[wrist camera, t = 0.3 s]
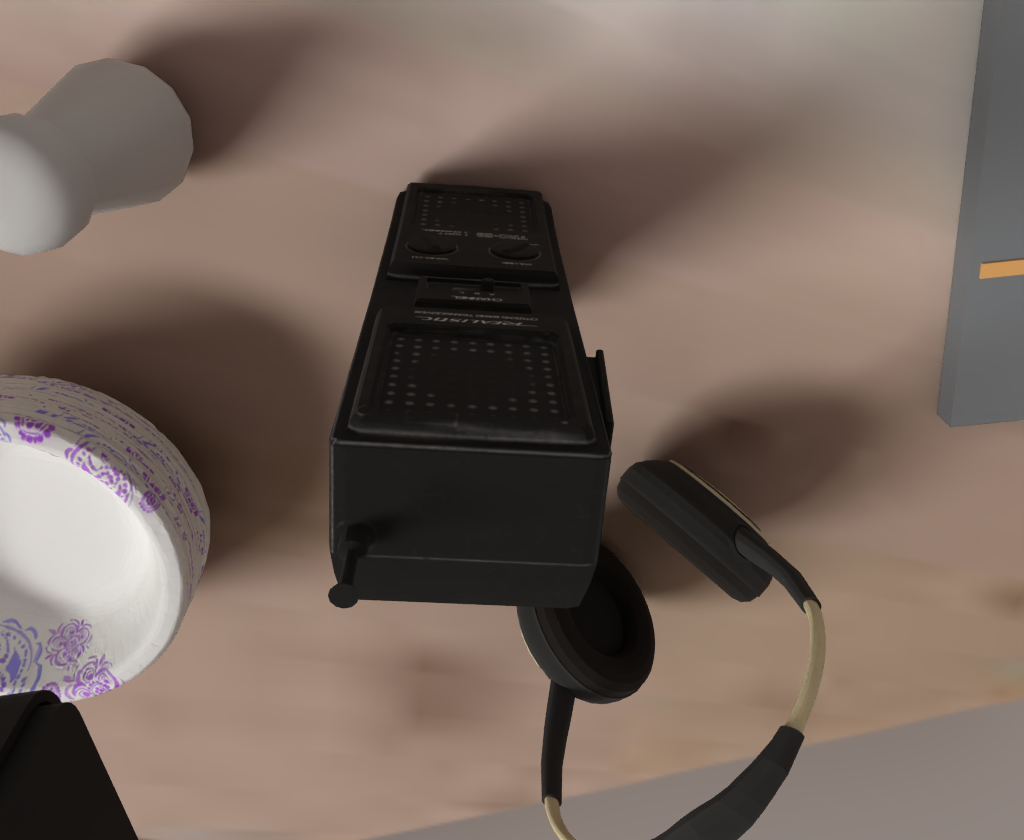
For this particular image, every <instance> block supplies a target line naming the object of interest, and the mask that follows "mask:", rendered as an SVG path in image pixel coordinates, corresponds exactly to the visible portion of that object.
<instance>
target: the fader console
mask: <svg viewBox="0 0 1024 840" xmlns="http://www.w3.org/2000/svg"><path fill="white" fill-rule="evenodd" d="M937 414H938V415H939V416H940V418H941V419H942V420H943V421H944V422H945V423H946V424H947V425H948V426H949V427H959V426H969V425H979V424H988V423H998V422H1008V421H1018V420H1024V0H984V6H983V15H982V24H981V33H980V41H979V50H978V59H977V68H976V77H975V85H974V94H973V103H972V112H971V120H970V129H969V138H968V147H967V156H966V164H965V173H964V182H963V191H962V200H961V208H960V217H959V226H958V235H957V243H956V252H955V261H954V270H953V279H952V287H951V296H950V305H949V314H948V323H947V331H946V340H945V349H944V358H943V366H942V375H941V384H940V393H939V402H938V410H937Z"/></svg>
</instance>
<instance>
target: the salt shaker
mask: <svg viewBox="0 0 1024 840" xmlns="http://www.w3.org/2000/svg"><path fill="white" fill-rule="evenodd" d="M193 150H194V147H193V138H192V128H191V119H190V117H189V115H188V113H187V112H186V110H185V108H184V107H183V105H182V103H181V102H180V100H179V98H178V97H177V95H176V93H175V92H174V90H173V88H172V87H170V86H169V85H168V84H166V83H165V82H164V81H163V80H161V79H160V78H159V77H157V76H156V75H155V74H153V73H152V72H151V71H150V70H148V69H147V68H146V67H143V66H139V65H135V64H131V63H127V62H123V61H119V60H115V59H109V58H106V59H102V60H97V61H93V62H88V63H84V64H79V65H75V66H74V67H73V68H72V69H71V70H70V71H69V72H68V73H67V74H66V75H65V76H64V77H63V78H62V79H61V80H60V81H58V82H57V83H56V84H55V85H54V86H53V87H52V88H51V89H50V91H49V92H48V93H47V94H46V95H45V96H44V97H43V98H42V99H41V100H40V101H39V102H38V103H37V104H36V105H35V106H34V107H33V108H32V109H31V110H30V111H29V112H28V113H27V114H26V115H21V114H17V113H13V114H8V115H4V116H0V250H2V251H7V252H11V253H15V254H20V255H24V256H26V255H30V254H35V253H39V252H44V251H48V250H52V249H56V248H60V247H63V246H64V245H65V244H66V243H67V242H68V241H70V240H71V239H72V238H73V237H74V236H76V235H77V234H78V233H79V232H80V231H81V230H83V229H84V228H85V227H86V226H87V224H88V223H89V221H90V218H91V215H94V214H99V213H105V212H110V211H115V210H121V209H126V208H131V207H135V206H139V205H144V204H148V203H152V202H156V201H160V200H161V199H162V198H164V197H165V196H166V195H167V194H169V193H170V192H171V191H172V190H173V189H175V188H176V187H177V186H178V185H180V184H181V183H182V182H183V180H184V177H185V174H186V171H187V168H188V165H189V162H190V159H191V156H192V153H193Z"/></svg>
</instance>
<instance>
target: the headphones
mask: <svg viewBox="0 0 1024 840" xmlns="http://www.w3.org/2000/svg"><path fill="white" fill-rule="evenodd" d="M620 479H621V480H620V482H619V484H618V486H617V493H618V497H619V499H620V500H621V502H622V503H623V504H624V505H625V506H626V507H627V508H629V509H630V510H631V511H632V512H633V513H634V514H636V515H637V516H638V517H639V518H640V519H641V520H642V521H644V522H645V523H646V524H647V525H648V526H649V527H651V528H652V529H653V530H654V531H655V532H656V533H658V534H659V535H660V536H661V537H662V538H663V539H665V540H666V541H667V542H668V543H669V544H670V545H671V546H673V547H674V548H675V549H676V550H677V551H678V552H680V553H681V554H682V555H683V556H684V557H685V558H687V559H688V560H689V561H690V562H691V563H692V564H694V565H695V566H696V567H697V568H698V569H699V570H700V571H702V572H703V573H704V574H705V575H706V576H707V577H709V578H710V579H711V580H712V581H713V582H714V583H716V584H717V585H718V586H719V587H720V588H721V589H723V590H724V591H725V592H726V593H727V594H728V595H729V596H731V597H732V598H734V599H736V600H738V601H740V602H747V601H751V600H753V599H754V598H756V597H757V596H758V597H759V596H760V595H761V594H762V593H763V592H764V590H765V589H766V588H767V587H768V586H769V584H770V582H771V580H772V576H773V577H774V578H775V579H776V580H778V581H779V582H780V583H781V584H782V585H783V586H784V587H785V588H786V589H787V591H788V592H789V593H790V595H791V596H792V597H793V599H794V600H795V601H796V603H797V604H798V605H799V607H800V608H801V609H802V611H803V612H804V613H806V614H807V616H808V619H809V624H810V652H809V659H808V665H807V670H806V674H805V678H804V681H803V684H802V688H801V691H800V693H799V696H798V699H797V701H796V704H795V706H794V708H793V711H792V713H791V715H790V717H789V719H788V721H787V723H786V724H785V726H780V728H779V729H778V731H777V732H776V734H775V736H774V737H773V739H772V740H771V741H770V743H769V744H768V745H767V746H766V747H765V748H764V750H763V751H762V752H761V753H760V754H759V755H758V757H757V758H756V759H755V760H754V761H753V762H752V763H751V764H750V765H749V766H748V767H747V768H746V769H745V770H744V771H743V772H742V773H741V774H740V775H739V776H738V777H737V778H736V779H735V780H734V781H733V782H732V783H731V784H730V785H729V786H728V787H727V788H725V789H724V790H723V791H721V792H720V793H719V794H718V795H716V796H715V797H714V798H712V799H711V800H709V801H707V802H706V803H704V804H702V805H701V806H699V807H697V808H696V809H694V810H693V811H691V812H690V813H688V814H687V815H686V816H684V817H683V818H682V819H680V820H679V821H678V822H676V823H675V824H674V825H673V826H672V827H671V828H669V829H668V830H667V831H665V832H664V833H662V834H660V835H659V836H657V837H656V838H654V839H652V840H737V839H739V838H740V837H741V836H742V835H743V834H744V833H745V832H746V831H747V830H748V829H749V828H750V827H751V826H752V825H753V824H754V822H755V821H756V820H757V819H758V818H759V816H760V815H761V814H762V813H763V811H764V810H765V808H766V807H767V806H768V804H769V802H770V801H771V800H772V798H773V797H774V795H775V794H776V792H777V790H778V789H779V787H780V786H781V784H782V783H783V781H784V780H785V778H786V777H787V775H788V773H789V771H790V769H791V767H792V765H793V762H794V760H795V758H796V755H797V753H798V751H799V749H800V746H801V744H802V742H803V740H804V735H803V734H802V733H803V730H804V728H805V725H806V722H807V719H808V717H809V714H810V712H811V710H812V707H813V705H814V702H815V699H816V696H817V693H818V689H819V686H820V682H821V678H822V673H823V667H824V661H825V649H826V645H825V627H824V621H823V617H822V612H821V604H820V602H819V600H818V599H817V597H816V596H815V594H814V593H813V591H812V590H811V588H810V587H809V585H808V584H807V582H806V581H805V579H804V578H803V576H802V575H801V573H800V572H799V571H798V570H797V569H795V568H794V567H793V566H792V565H791V564H790V563H789V562H788V561H786V560H785V559H784V558H783V557H782V556H781V555H780V554H779V553H778V552H776V551H775V550H774V549H773V548H771V547H770V546H769V541H768V539H767V538H766V537H765V536H764V535H763V534H762V532H761V531H760V529H759V528H758V527H757V526H756V524H755V523H754V522H753V521H751V519H750V518H749V517H748V516H747V515H746V514H745V513H744V512H743V511H742V510H741V509H740V508H739V507H738V506H737V505H735V504H734V503H733V502H732V501H731V500H730V499H729V498H727V497H726V496H725V495H724V494H723V493H721V492H720V491H719V490H718V489H716V488H715V487H714V486H713V485H711V484H710V483H709V482H708V481H706V480H705V479H703V478H702V477H701V476H699V475H698V474H696V473H694V472H693V471H691V470H690V469H688V468H686V467H684V466H682V465H680V464H678V463H677V462H675V461H673V460H669V461H660V460H650V461H643V462H637V463H635V464H634V465H632V466H631V467H629V469H628V470H627V471H626V472H625V473H624V474H623V475H622V477H621V478H620ZM517 614H518V620H519V625H520V630H521V633H522V636H523V639H524V642H525V644H526V646H527V648H528V651H529V653H530V654H531V656H532V657H533V659H534V661H535V662H536V664H537V665H538V666H539V667H540V668H541V670H542V671H543V672H544V673H545V674H546V675H547V676H548V678H549V679H551V684H550V690H549V697H548V704H547V711H546V719H545V726H544V737H543V747H542V758H541V783H542V802H543V803H544V804H545V809H546V811H547V815H548V818H549V821H550V823H551V825H552V827H553V829H554V831H555V833H556V834H557V836H558V837H559V838H560V840H576V839H575V838H574V837H573V836H572V835H571V834H570V833H569V832H568V830H567V828H566V826H565V825H564V823H563V820H562V818H561V815H560V807H559V806H561V804H562V766H563V759H564V753H565V747H566V741H567V736H568V731H569V726H570V721H571V716H572V711H573V705H574V700H575V697H576V698H578V699H581V700H583V701H586V702H589V703H596V704H607V703H612V702H616V701H619V700H622V699H624V698H626V697H629V696H630V695H632V694H633V693H635V692H636V691H638V689H639V688H640V687H641V685H642V684H643V683H644V682H645V681H646V679H647V678H648V676H649V674H650V671H651V669H652V665H653V660H654V652H655V635H654V628H653V622H652V618H651V615H650V612H649V609H648V606H647V603H646V601H645V598H644V596H643V594H642V592H641V590H640V588H639V586H638V585H637V583H636V581H635V580H634V578H633V577H632V575H631V574H630V572H629V571H628V570H627V569H626V567H625V566H624V565H623V564H622V563H621V562H620V561H619V560H618V558H616V557H615V556H614V555H613V554H612V553H611V552H610V551H608V550H607V549H606V548H604V547H602V546H601V545H600V546H599V554H598V562H597V565H596V568H595V571H594V574H593V577H592V580H591V583H590V585H589V587H588V589H587V591H586V593H585V595H584V597H583V599H582V601H581V603H580V605H579V607H571V608H550V607H526V606H517Z"/></svg>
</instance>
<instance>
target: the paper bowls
mask: <svg viewBox="0 0 1024 840" xmlns="http://www.w3.org/2000/svg"><path fill="white" fill-rule="evenodd" d="M209 545H210V511H209V508H208V505H207V502H206V499H205V496H204V492H203V489H202V487H201V484H200V482H199V480H198V479H197V477H196V476H195V474H194V472H193V471H192V470H191V468H190V467H189V465H188V464H187V462H186V461H185V459H184V457H183V456H182V455H181V453H180V452H179V450H178V449H177V448H176V447H175V445H174V444H173V443H172V442H170V441H169V440H168V439H167V437H166V436H165V435H164V434H163V433H160V432H159V431H158V430H157V429H156V427H155V426H154V425H153V424H152V423H151V422H149V421H148V420H147V419H145V418H144V417H143V416H141V415H140V414H138V413H136V412H135V411H134V410H132V409H131V408H129V407H128V406H126V405H124V404H122V403H120V402H119V401H117V400H116V399H113V398H111V397H109V396H107V395H106V394H104V393H101V392H98V391H95V390H92V389H90V388H88V387H85V386H82V385H77V384H75V383H72V382H67V381H63V380H60V379H55V378H47V377H45V376H40V377H33V376H29V375H0V696H2V695H9V694H16V693H23V692H31V691H38V690H51V691H52V692H53V693H55V694H56V695H57V696H58V697H59V699H60V700H61V702H62V703H63V702H70V701H75V700H82V699H85V698H89V697H93V696H96V695H99V694H102V693H104V692H107V691H110V690H112V689H114V688H116V687H118V686H121V685H123V684H124V683H127V682H128V681H130V680H132V679H133V678H135V677H136V676H138V675H139V674H141V673H142V672H144V671H145V670H146V669H148V668H149V667H150V666H151V665H152V664H154V663H155V662H156V661H157V660H158V659H159V658H160V656H161V655H162V654H163V653H164V652H165V651H166V649H167V648H168V646H169V645H170V644H171V642H172V640H173V639H174V637H175V635H176V634H177V631H178V629H179V627H180V625H181V622H182V620H183V617H184V615H185V613H186V611H187V608H188V606H189V604H190V602H191V600H192V599H193V596H194V593H195V590H196V587H197V585H198V583H199V581H200V578H201V575H202V573H203V570H204V566H205V563H206V560H207V555H208V550H209Z"/></svg>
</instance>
